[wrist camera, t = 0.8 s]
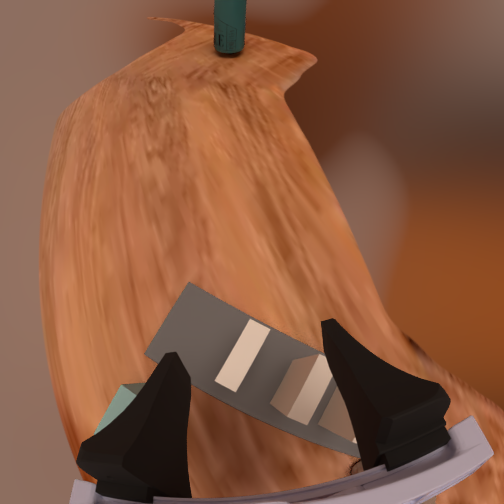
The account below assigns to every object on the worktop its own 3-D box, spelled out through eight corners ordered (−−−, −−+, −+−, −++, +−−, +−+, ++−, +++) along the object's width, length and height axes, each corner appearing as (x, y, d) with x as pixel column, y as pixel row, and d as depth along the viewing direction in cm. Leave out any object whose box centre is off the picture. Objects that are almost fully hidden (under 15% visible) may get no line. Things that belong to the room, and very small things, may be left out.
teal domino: (144, 428, 23) (110, 447, 15) (131, 419, 23) (93, 434, 15) (166, 390, 25) (139, 397, 17) (153, 381, 25) (121, 384, 17)
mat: (377, 462, 23) (378, 463, 22) (144, 354, 26) (144, 354, 26) (409, 392, 26) (411, 392, 26) (189, 282, 30) (188, 281, 30)
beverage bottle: (249, 51, 51) (256, -28, 33) (233, 62, 48) (238, -25, 30) (224, 45, 52) (226, -31, 33) (207, 55, 49) (206, -27, 31)
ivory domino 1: (234, 385, 26) (235, 392, 17) (219, 377, 26) (214, 380, 18) (258, 342, 28) (270, 329, 19) (244, 334, 28) (249, 318, 20)
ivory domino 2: (284, 409, 25) (307, 425, 17) (269, 403, 25) (286, 416, 17) (306, 366, 27) (338, 362, 19) (293, 359, 27) (319, 353, 19)
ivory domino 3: (330, 429, 24) (369, 447, 16) (317, 424, 24) (352, 442, 16) (351, 387, 26) (396, 388, 18) (339, 381, 26) (380, 382, 18)
